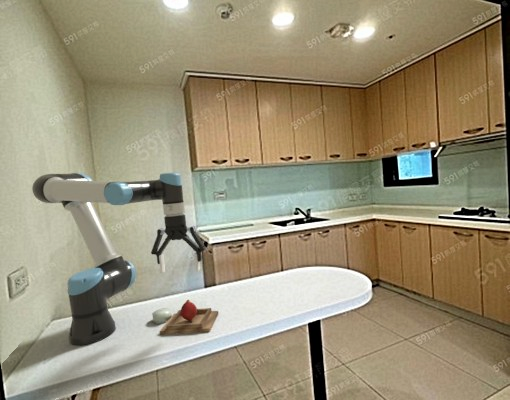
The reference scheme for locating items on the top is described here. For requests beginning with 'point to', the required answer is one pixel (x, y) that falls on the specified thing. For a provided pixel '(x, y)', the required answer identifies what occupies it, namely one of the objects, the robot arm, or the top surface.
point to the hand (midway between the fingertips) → (180, 271)
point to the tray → (190, 322)
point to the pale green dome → (161, 315)
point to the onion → (188, 310)
